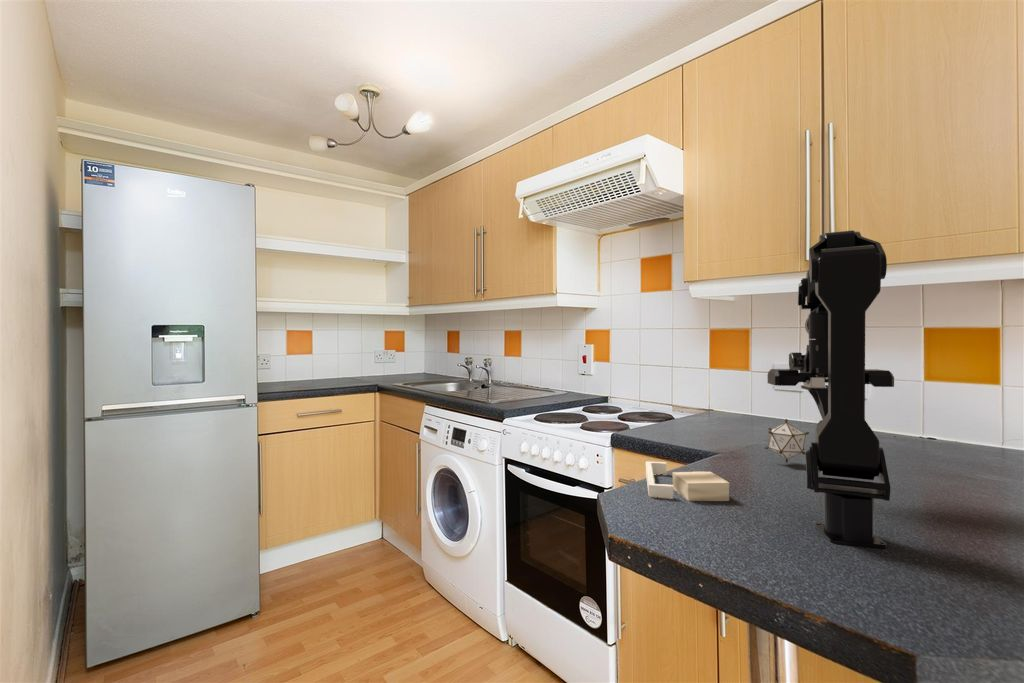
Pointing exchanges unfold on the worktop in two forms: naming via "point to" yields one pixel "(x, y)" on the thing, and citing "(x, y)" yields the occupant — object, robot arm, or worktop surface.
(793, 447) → the game die
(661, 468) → the cream u-shaped piece
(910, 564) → the worktop surface
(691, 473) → the birch block
